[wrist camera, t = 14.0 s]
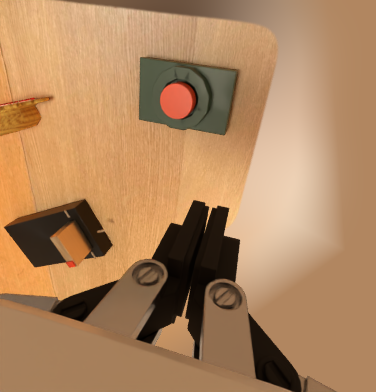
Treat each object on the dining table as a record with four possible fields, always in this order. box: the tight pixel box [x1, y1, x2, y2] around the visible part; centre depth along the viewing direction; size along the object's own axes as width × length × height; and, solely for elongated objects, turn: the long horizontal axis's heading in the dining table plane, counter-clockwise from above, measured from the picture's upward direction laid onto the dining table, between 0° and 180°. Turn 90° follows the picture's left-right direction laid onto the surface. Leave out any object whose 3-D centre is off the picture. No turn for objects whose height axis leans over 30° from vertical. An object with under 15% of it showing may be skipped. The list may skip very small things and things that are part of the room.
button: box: [160, 82, 196, 119], centre depth 28 cm, size 4×4×2 cm
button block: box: [139, 57, 238, 135], centre depth 30 cm, size 11×7×4 cm, turn 83°
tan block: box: [50, 220, 93, 267], centre depth 42 cm, size 6×2×5 cm, turn 21°
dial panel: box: [4, 200, 112, 267], centre depth 47 cm, size 21×10×3 cm, turn 112°
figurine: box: [0, 97, 49, 136], centre depth 36 cm, size 4×12×7 cm, turn 100°
